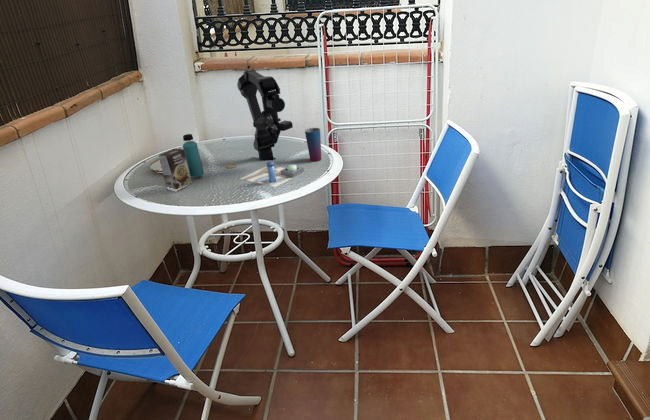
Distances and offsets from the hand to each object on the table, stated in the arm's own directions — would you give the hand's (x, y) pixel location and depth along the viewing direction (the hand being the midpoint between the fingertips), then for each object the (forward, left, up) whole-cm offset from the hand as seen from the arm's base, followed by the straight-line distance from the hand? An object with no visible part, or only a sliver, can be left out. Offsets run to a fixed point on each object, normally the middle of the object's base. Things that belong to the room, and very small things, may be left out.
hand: (275, 143), depth 212 cm
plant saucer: (-51, -19, -12) cm, 56 cm away
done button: (+11, -3, -11) cm, 16 cm away
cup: (+10, +14, -12) cm, 21 cm away
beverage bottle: (-28, -24, -12) cm, 39 cm away
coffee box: (-26, -35, -12) cm, 45 cm away
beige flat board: (+4, -9, -12) cm, 16 cm away
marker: (+10, -14, -11) cm, 20 cm away
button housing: (+11, -4, -11) cm, 16 cm away
